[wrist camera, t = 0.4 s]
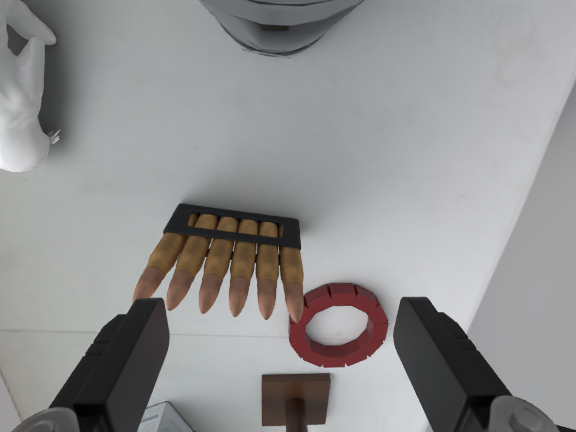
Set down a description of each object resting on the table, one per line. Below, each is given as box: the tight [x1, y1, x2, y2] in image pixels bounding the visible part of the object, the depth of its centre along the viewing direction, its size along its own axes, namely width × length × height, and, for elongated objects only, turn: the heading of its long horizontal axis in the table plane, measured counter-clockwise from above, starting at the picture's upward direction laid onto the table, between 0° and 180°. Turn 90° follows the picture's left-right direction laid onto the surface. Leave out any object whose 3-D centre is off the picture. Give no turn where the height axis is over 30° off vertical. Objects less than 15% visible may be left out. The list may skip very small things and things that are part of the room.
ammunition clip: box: [133, 204, 304, 323], centre depth 22 cm, size 11×2×12 cm, turn 80°
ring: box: [289, 283, 389, 368], centre depth 33 cm, size 10×10×2 cm
